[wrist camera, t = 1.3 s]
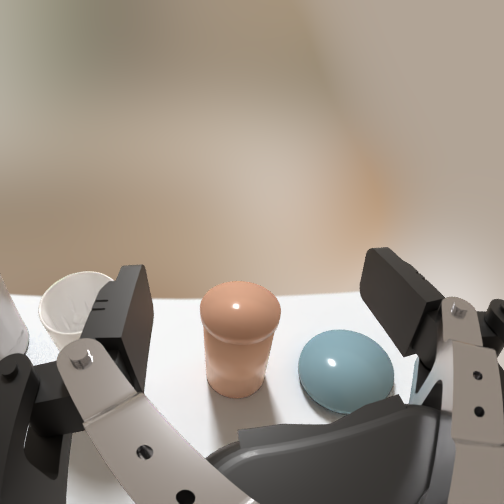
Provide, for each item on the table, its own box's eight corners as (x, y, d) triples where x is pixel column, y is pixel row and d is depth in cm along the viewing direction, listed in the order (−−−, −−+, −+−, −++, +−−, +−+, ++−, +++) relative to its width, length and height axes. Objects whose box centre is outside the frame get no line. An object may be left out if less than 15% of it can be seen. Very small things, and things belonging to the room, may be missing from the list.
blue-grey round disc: (302, 420, 25) (305, 415, 24) (292, 335, 34) (294, 329, 33) (400, 409, 26) (405, 404, 25) (376, 335, 35) (379, 328, 34)
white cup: (152, 378, 27) (132, 312, 22) (88, 407, 23) (46, 348, 17) (123, 329, 32) (104, 261, 27) (66, 353, 28) (33, 288, 22)
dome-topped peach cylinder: (201, 397, 26) (195, 335, 21) (207, 347, 32) (204, 278, 26) (267, 401, 27) (284, 340, 21) (265, 350, 32) (277, 283, 26)
